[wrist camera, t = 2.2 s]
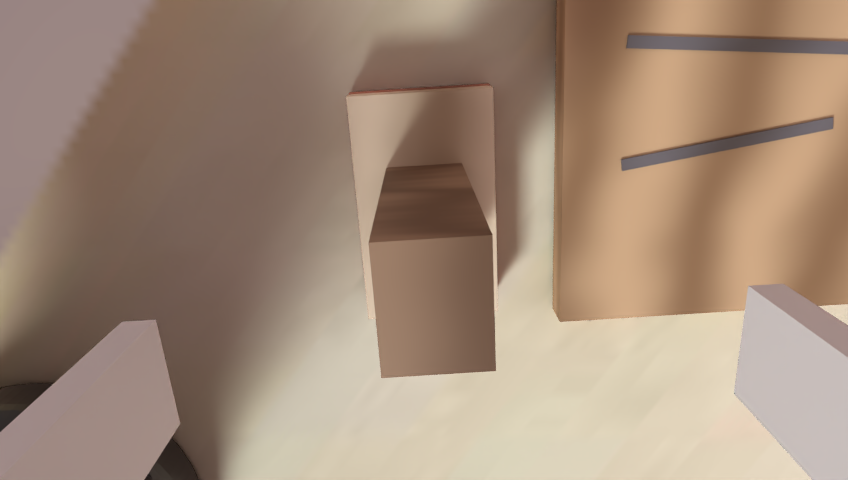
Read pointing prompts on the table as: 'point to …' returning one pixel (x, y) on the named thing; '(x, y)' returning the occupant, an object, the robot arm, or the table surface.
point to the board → (698, 154)
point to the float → (428, 225)
